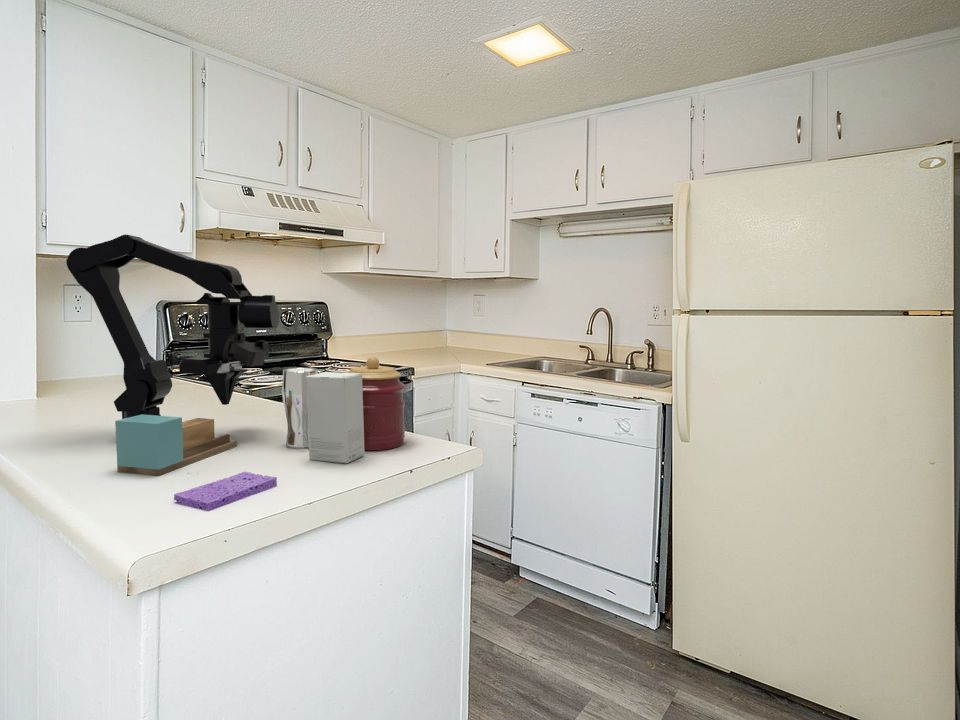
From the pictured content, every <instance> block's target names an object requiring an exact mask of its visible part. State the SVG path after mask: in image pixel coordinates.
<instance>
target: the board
mask: <svg viewBox="0 0 960 720" xmlns="http://www.w3.org/2000/svg"><path fill="white" fill-rule="evenodd" d="M235 447H238V441H237V440H231V434H228V433H226V434H223V435H220V436H217V437H215V438H213V439H210V440H207V441H204V442H201V443H198V444H195V445H193V446H190V447H187V448H184V449H183V461H181V462H179V463H176V464H173V465H170V466H168V467H165V468H162V469H159V470H156V469H146V468H136V467H126V466H117V472H119V473H126V474H127V473H128V474H129V473H130V474H136V473H137V474H138V475H148V476H155V477H156V476H158V477H160V476H162V475H165V474H167V473H170V472H173V471H175V470H178V469H180V468H184V467H186V466H189V465H191V464H193V463H196V462H199V461H201V460H205V459H207V458H210V457H213V456H215V455H217V454H221V453H223V452H224V451H228V450H230V449H233V448H235Z"/></svg>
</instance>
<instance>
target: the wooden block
mask: <svg viewBox="0 0 960 720" xmlns="http://www.w3.org/2000/svg"><path fill="white" fill-rule="evenodd" d="M182 435H183V449H184V448H187V447H190V446H193V445H195V444H198V443H201V442H204V441H207V440H210V439H213V438H216V437H215V419H214V418H203V417H196V418H192V419H189V420H184V421H182Z"/></svg>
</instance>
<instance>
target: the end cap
mask: <svg viewBox="0 0 960 720" xmlns="http://www.w3.org/2000/svg"><path fill="white" fill-rule="evenodd" d="M114 422H115V423H114V425H115V445H116V464H117V466H126V467H136V468H146V469H156V470H159V469H162V468H165V467H168V466H170V465H173V464H176V463H179V462H181V461H183V435H182V422H183V417H179V416H167V415H166V416H165V415H161V416H156V415H143V414H142V415H138V416H133V417H129V418H125V419H122V418H121V419H117V420H115V421H114Z"/></svg>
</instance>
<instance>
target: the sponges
mask: <svg viewBox="0 0 960 720" xmlns="http://www.w3.org/2000/svg"><path fill="white" fill-rule="evenodd" d="M275 487H278V482H277V476H271V475H263V474H259V473H257V474H256V473H253V472H247V471H242V472H239V473H237V474H233V475H231V476H229V477H227V478H226V477H225V478H223V479H219V480H215V481H211V482H208V483H205V484H201V485H199V486H196V487H194V488H190V489H187V490H183V491H179V492H177V493H174V494H173V501H176V504H178V505H181V506H186V507H190V508H195V509H199V510H203V511H207V512H210V511H212V510H215V509H217V508H220V507H223V506H226V505H228V504H232V503H234V502H236V501H240V500H242V499H245V498H249V497H250V496H254V495H256V494H258V493H262V492H264V491H267V490H270V489H273V488H275Z"/></svg>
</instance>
